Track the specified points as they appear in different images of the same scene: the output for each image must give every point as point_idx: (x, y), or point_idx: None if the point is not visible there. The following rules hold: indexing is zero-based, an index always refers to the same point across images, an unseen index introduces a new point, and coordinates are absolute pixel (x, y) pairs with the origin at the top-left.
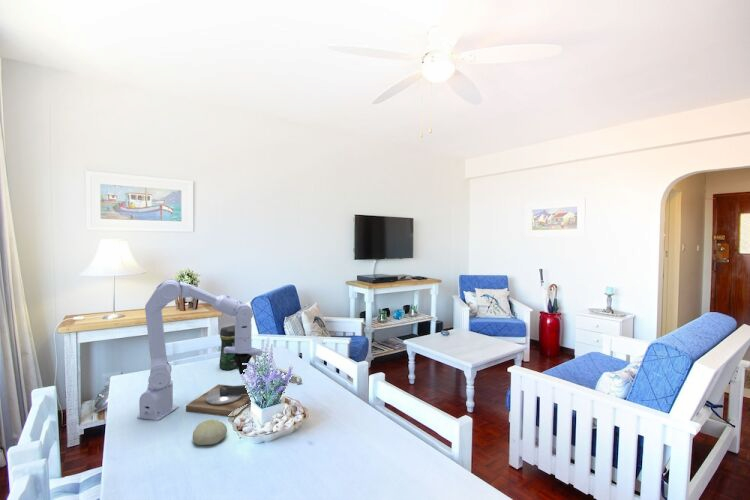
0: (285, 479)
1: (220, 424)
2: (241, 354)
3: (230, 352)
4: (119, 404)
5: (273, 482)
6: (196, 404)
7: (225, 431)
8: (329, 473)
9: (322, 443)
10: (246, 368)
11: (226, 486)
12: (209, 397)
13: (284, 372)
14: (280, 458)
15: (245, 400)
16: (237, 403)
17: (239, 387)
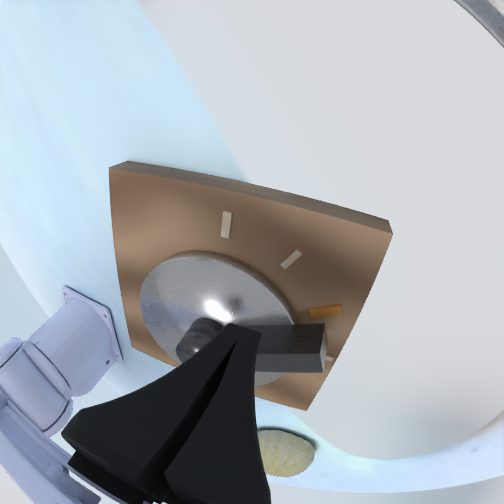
0: (415, 485)
1: (297, 471)
2: (150, 499)
3: (34, 432)
4: (17, 267)
5: (401, 487)
6: (154, 349)
7: (312, 460)
8: (466, 475)
9: (490, 447)
10: (253, 364)
11: (345, 489)
12: (169, 345)
13: (495, 8)
14: (417, 471)
15: (326, 358)
16: (298, 374)
17: (275, 371)
